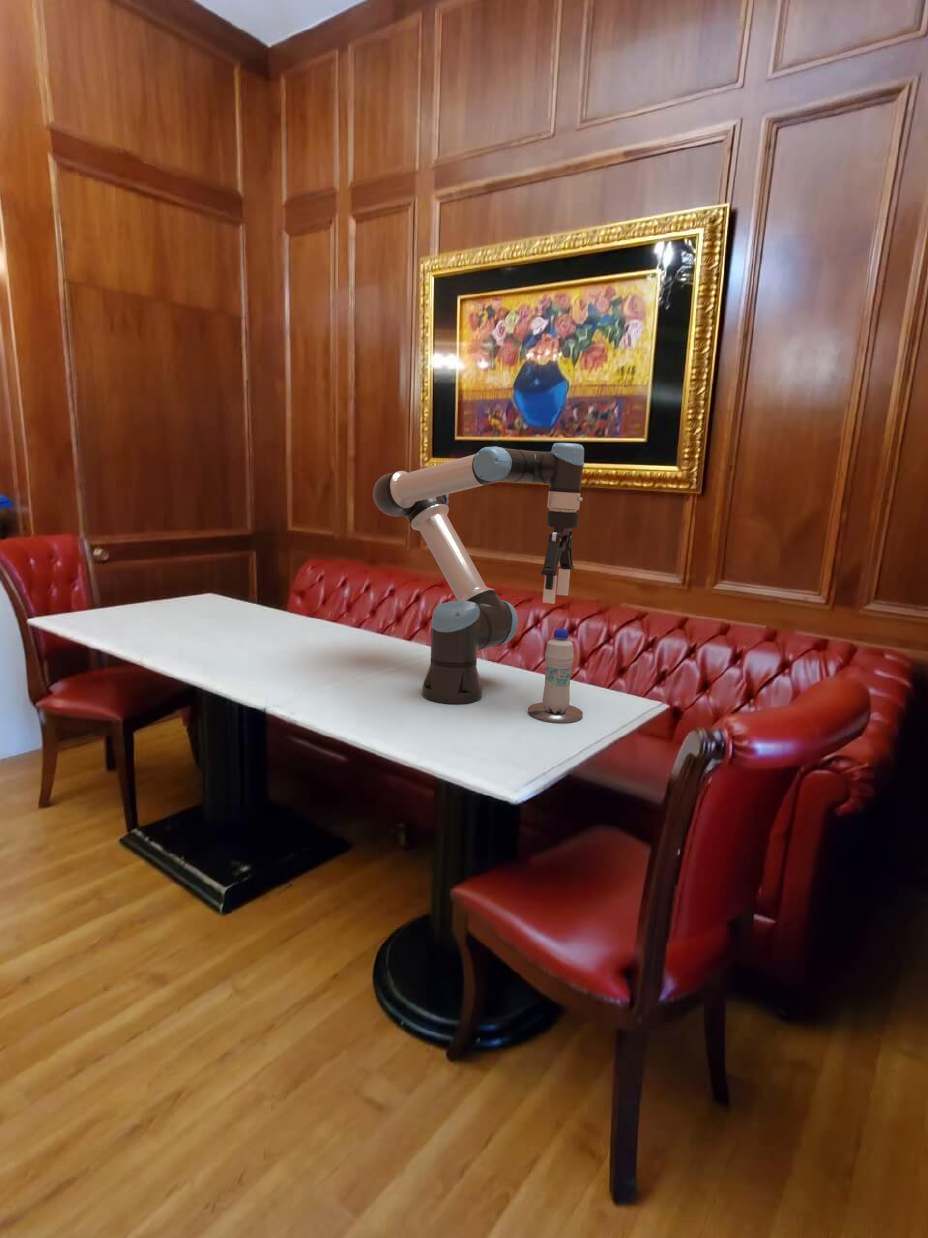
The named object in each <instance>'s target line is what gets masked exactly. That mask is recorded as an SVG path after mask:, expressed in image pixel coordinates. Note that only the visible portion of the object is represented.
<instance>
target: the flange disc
mask: <svg viewBox="0 0 928 1238" xmlns="http://www.w3.org/2000/svg"><path fill="white" fill-rule="evenodd" d="M527 714H528V715H529V716H530V717H532V718H533V719H535V720H538V721H542V722H545V723H552V724H572V723H576V722H579V721H581V720H582V719H583V715H584V713H583V711H582V710H581V708H579V707H576V706H575V705H572V704H571V705H570V704H569V707H568V710H567V711H566V712H564V713H560V710H559V709H558V710H557V712H556V713H553V710H552V709H551V710H550V712H547V711H546V710H545V709H544V707H543V701H542V702H536V703H532V704H530V705H529V706H528V707H527Z"/></svg>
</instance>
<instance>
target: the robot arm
mask: <svg viewBox="0 0 928 1238" xmlns="http://www.w3.org/2000/svg"><path fill="white" fill-rule="evenodd" d="M584 461H585V448H584V446H583V445H582V444H580V443H570V442H555V443H553V445H552V447H551V451H535V450H527V449H526V450H524V449H513V448H506V447H500V446H495V445H494V446H486V447H483V448H481V449H480V450H479V451H478V452H476V453H474V454H471V455H468V456H464V457H460V458H458V459H453V460H450V461H447V462H445V461H444V462H442V463H439V464H435V465H432V466H427V467H424V468H421V469H416V470H413V471H410V472H407V471H406V470H398V471H395V472H390V473H385V474H383V475H382V476H381V477H379V478H378V479H377V480H376V482H375V484H374V486H373V490H372V497H373V502H374V504H375V506H376V507H377V509H378V510H379V511H380V512H382V513H383V514H385V515H386V516H390V517H394V518H395V517H396V518H397V517H399V518H401V517H404V518H406V519H407V521H408V523H409V525H410V526H411V528H412V529H413V530H414V531H419V532H420V534H421V535H422V538H423V539H424V542H425V544H426V545H427V547H428V549H429V550H430V553H431V554H432V556H433V558H434V560H435V561H436V563H437V565H438V567H439V569H440V571H441V572H442V574H443V576H444V578H445V581H446V582H447V583H448V586H449V588H450V589H451V591H452V593H453V595H454V597H455V598H456V600H454V601H451V600H450V601H446V602H443V603H441V604H437V606H435V607H434V609H433V610H432V616H431V617H432V618H431V622H430V624H431V627H430V628H431V629H430V630H431V631H430V632H431V634H430V637H431V639H430V665H429V667H428V669H427V673H426V675H425V678H424V681H423V684H422V687H421V689H422V692H421V693H422V696H423V697H424V698H425V699H427V700H429V701H432V702H436V703H443V704H450V705H452V704H453V705H456V704H457V705H458V704H459V705H461V704H469V703H471V704H472V703H475V702H477V701H480V700H481V698H482V697H483V686H482V682H481V679H480V674H479V671H478V668H477V663H478V662H477V660H478V651H482V650H487V649H489V648H490V649H491V648H496V647H500V646H502V645H504V644H507V643H509V642H510V641H511V640H512V639H513V638H514V637H515V635H516V633H517V630H518V626H519V619H518V618H519V616H518V613H517V610H516V608H515V607H514V605H513V604H511V603H510V602H508V601H505V600H503V599H500V597H499V594H498V593H497V592H496V590H495V589H494V588H490V587H488V586H487V585H486V583H485V582H484V580H483V578H482V577H481V575H480V572H479V571H478V570H477V567H476V566H475V564H474V562H473V560H472V558H471V557H470V555H469V553H468V552H467V549H466V548H465V546H464V544H463V542H462V541H461V539H460V536H459V535H458V533H457V531H456V530H455V528H454V526H453V524H452V523H451V520H450V519H449V517H448V514H449V511H450V508H449V499H448V498H449V497H450V496H449V495H450V494H454V493H458V492H462V491H466V490H470V489H471V490H472V489H475V488H478V487H482V486H486V485H487V486H488V485H492V484H495V483H500V482H501V483H502V482H510V483H522V484H526V483H527V484H528V483H529V484H545V485H546V484H547V485H548V486H549V487H548V497H547V508H548V509H549V510H547V511H546V519H545V521H546V522H545V523H546V526H547V527H549V528H553V532H552V531H549V533H548V542H547V547H546V552H545V556H544V557H545V558H544V562H543V567H542V570H541V572H540V573H541V575H542V576H544V580H543V594H542V603H544V604H552V605H555V602H556V595H559V596H569V590H570V589H569V588H570V587H569V586H570V576H571V575H570V573H571V570H574V569H575V568H574V567H575V565H573V564H574V562H573V559H574V558H573V557H574V556H573V554H574V553H573V533H574V531H573V529H576V528H578V526H579V518H580V517H579V516H580V514H579V512H577V511H579V510H580V504H581V503H580V502H583V500H584V499H583V497H581V493H582V482H583V474H584V473H583V471H584V466H585V462H584ZM558 567H560V568H558ZM557 570H558V575H557Z"/></svg>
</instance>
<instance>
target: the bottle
mask: <svg viewBox="0 0 928 1238" xmlns="http://www.w3.org/2000/svg"><path fill="white" fill-rule="evenodd" d="M574 655H575V653H574V643H573V642H572V641H570V640H569V631H568V630H567V629H566V628H556V629H555V630H554V632H553V638H552V639H549V640H548V641H547V644H546V648H545V653H544V661H545V672H544V673H545V674H544V686H543V687H544V688H543V695H542V702H543V707H544V709H545V710H546V711H547V712H550V710H551V709H552V710H553V713H556V712H557V710H558V709H559V710H560V713H564V712H566V711H567V710H568V707H569V705H570V693H571V692H570V688H571V687H570V686H571V675H572V674H571V671H572V665H573V663H574V658H575V656H574Z"/></svg>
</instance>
